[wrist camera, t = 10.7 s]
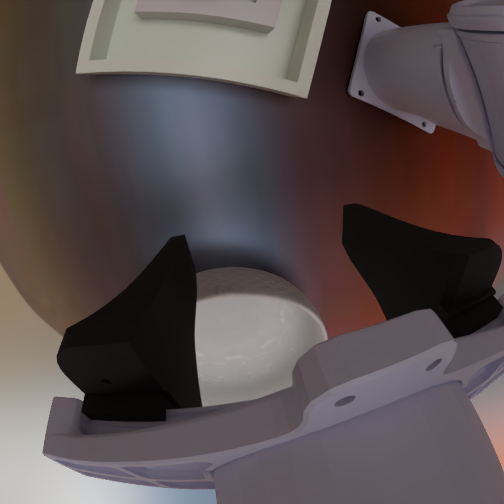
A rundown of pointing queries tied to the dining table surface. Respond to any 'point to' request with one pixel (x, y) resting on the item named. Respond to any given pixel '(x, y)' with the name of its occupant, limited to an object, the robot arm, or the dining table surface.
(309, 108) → the dining table surface
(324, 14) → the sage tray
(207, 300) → the cereal bowl
